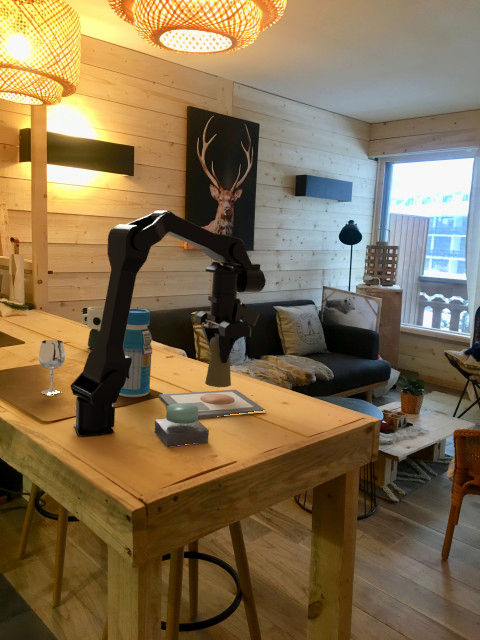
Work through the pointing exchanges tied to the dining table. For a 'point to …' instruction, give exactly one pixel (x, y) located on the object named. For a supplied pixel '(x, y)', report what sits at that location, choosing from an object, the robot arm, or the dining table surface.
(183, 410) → the button
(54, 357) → the wineglass
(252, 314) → the robot arm
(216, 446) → the dining table surface
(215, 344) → the brown tapered upright piece
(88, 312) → the character mug
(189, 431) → the button housing
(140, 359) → the beverage bottle
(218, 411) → the drawing board
